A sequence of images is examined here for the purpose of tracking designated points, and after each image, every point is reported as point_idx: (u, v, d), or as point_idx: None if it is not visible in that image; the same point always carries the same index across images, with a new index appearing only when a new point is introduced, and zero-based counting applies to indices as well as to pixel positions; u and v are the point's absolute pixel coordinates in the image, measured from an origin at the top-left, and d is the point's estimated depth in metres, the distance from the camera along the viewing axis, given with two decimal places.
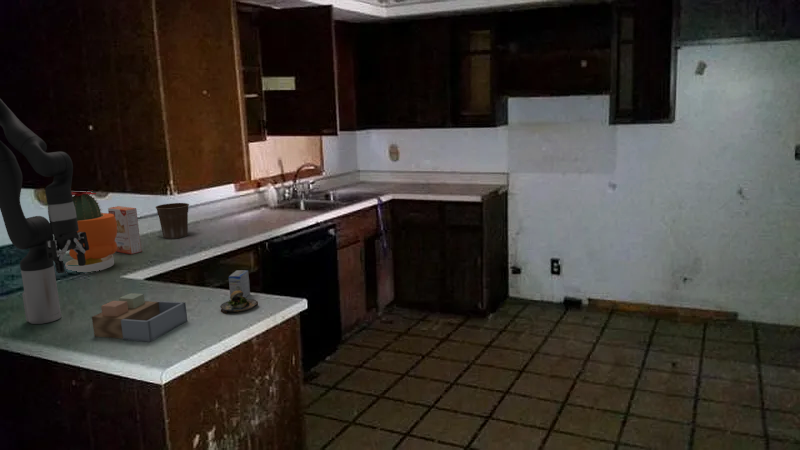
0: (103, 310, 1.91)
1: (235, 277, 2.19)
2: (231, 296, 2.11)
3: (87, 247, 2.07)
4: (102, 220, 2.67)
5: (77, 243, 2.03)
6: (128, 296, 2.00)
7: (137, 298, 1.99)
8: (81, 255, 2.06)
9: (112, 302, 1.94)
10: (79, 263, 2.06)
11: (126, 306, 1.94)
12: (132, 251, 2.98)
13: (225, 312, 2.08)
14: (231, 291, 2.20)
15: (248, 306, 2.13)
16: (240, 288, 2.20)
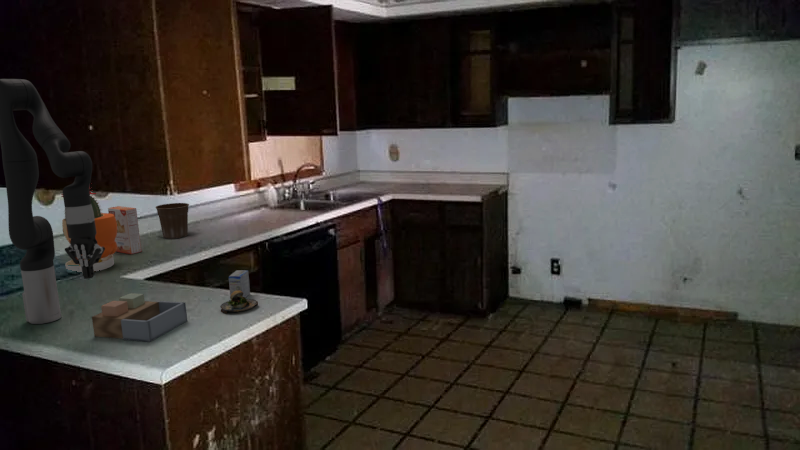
0: (103, 310, 1.91)
1: (235, 277, 2.19)
2: (231, 296, 2.11)
3: None
4: (102, 220, 2.67)
5: None
6: (128, 296, 2.00)
7: (137, 298, 1.99)
8: None
9: (112, 302, 1.94)
10: None
11: (126, 306, 1.94)
12: (132, 251, 2.98)
13: (225, 312, 2.08)
14: (231, 291, 2.20)
15: (248, 306, 2.13)
16: (240, 288, 2.20)
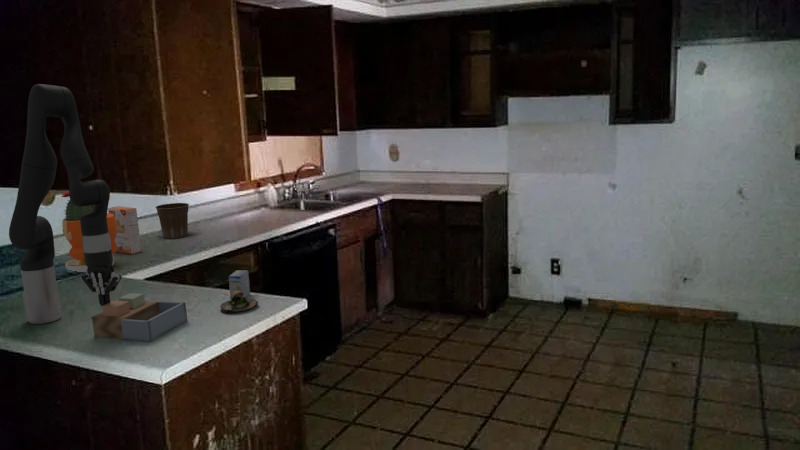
0: (105, 310, 1.91)
1: (235, 277, 2.19)
2: (231, 296, 2.11)
3: None
4: None
5: None
6: (128, 296, 2.00)
7: (137, 298, 1.99)
8: None
9: (113, 302, 1.94)
10: None
11: (127, 306, 1.94)
12: (132, 251, 2.98)
13: (226, 312, 2.08)
14: (231, 291, 2.20)
15: (248, 306, 2.13)
16: (240, 288, 2.20)
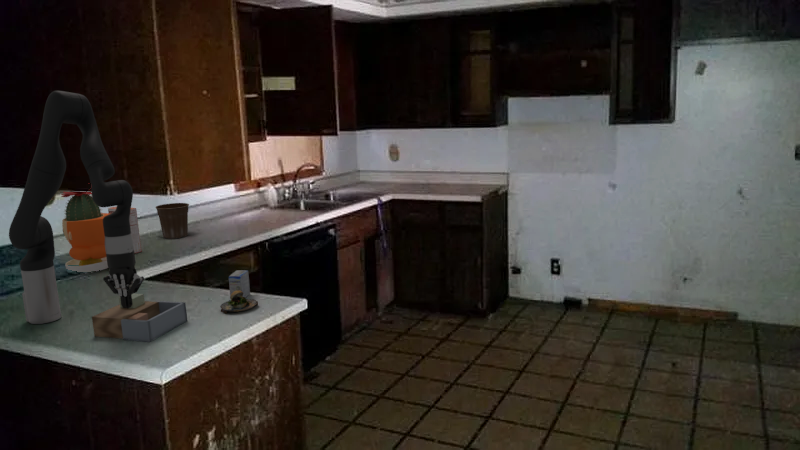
0: None
1: (235, 277, 2.19)
2: (231, 296, 2.11)
3: None
4: (102, 220, 2.67)
5: None
6: None
7: (137, 298, 1.99)
8: None
9: (143, 319, 1.92)
10: None
11: None
12: None
13: (226, 312, 2.08)
14: (231, 291, 2.20)
15: (248, 306, 2.13)
16: (240, 288, 2.20)
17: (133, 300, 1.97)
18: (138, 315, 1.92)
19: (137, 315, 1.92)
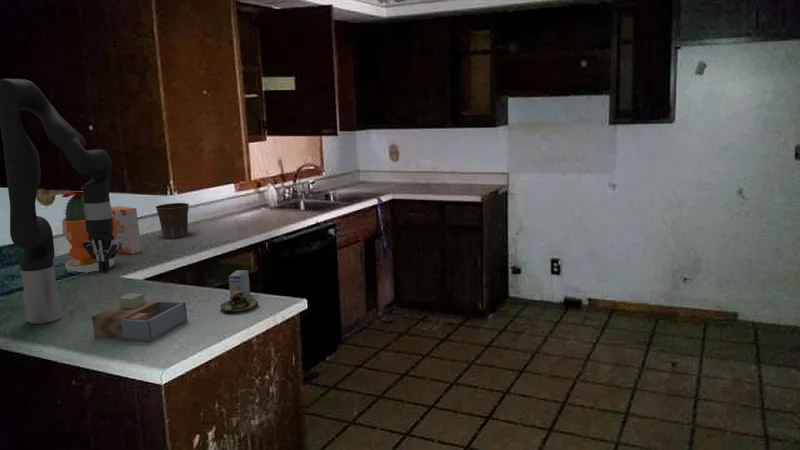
0: None
1: (235, 277, 2.19)
2: (231, 296, 2.11)
3: None
4: None
5: None
6: (128, 296, 2.00)
7: (137, 298, 1.99)
8: None
9: (143, 319, 1.92)
10: None
11: None
12: (132, 251, 2.98)
13: (226, 312, 2.08)
14: (231, 291, 2.20)
15: (248, 306, 2.13)
16: (240, 288, 2.20)
17: (133, 300, 1.97)
18: (138, 315, 1.92)
19: (137, 315, 1.92)
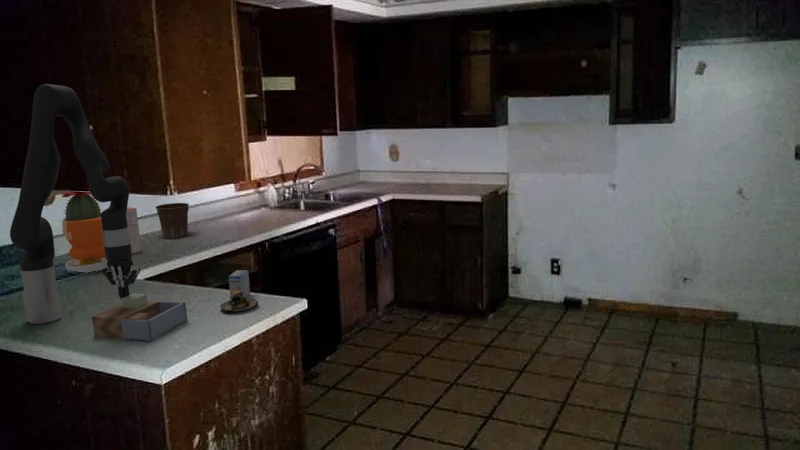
0: None
1: (235, 277, 2.19)
2: (231, 296, 2.11)
3: None
4: None
5: None
6: (131, 296, 1.99)
7: (140, 298, 1.99)
8: None
9: (143, 319, 1.92)
10: None
11: None
12: (132, 251, 2.98)
13: (226, 312, 2.08)
14: (231, 291, 2.20)
15: (248, 306, 2.13)
16: (240, 288, 2.20)
17: (136, 300, 1.97)
18: (138, 315, 1.92)
19: (137, 315, 1.92)
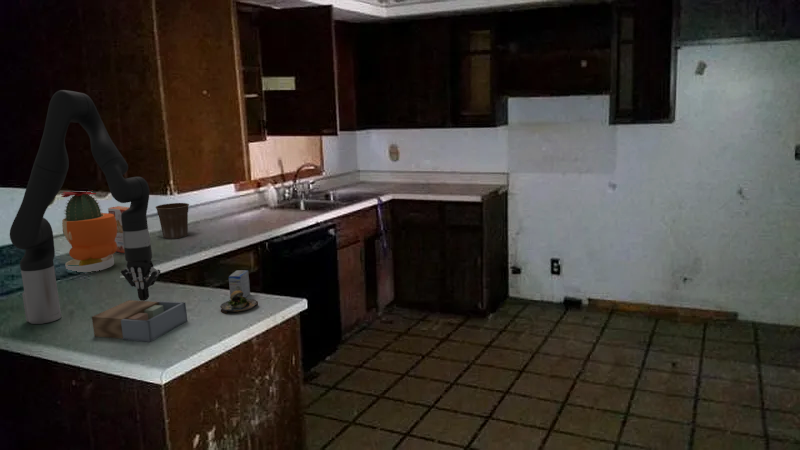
0: None
1: (235, 277, 2.19)
2: (231, 296, 2.11)
3: None
4: (102, 220, 2.67)
5: None
6: (157, 314, 1.98)
7: None
8: None
9: (143, 319, 1.92)
10: None
11: None
12: None
13: (226, 312, 2.08)
14: (231, 291, 2.20)
15: (248, 306, 2.13)
16: (240, 288, 2.20)
17: None
18: (138, 315, 1.92)
19: (137, 315, 1.92)
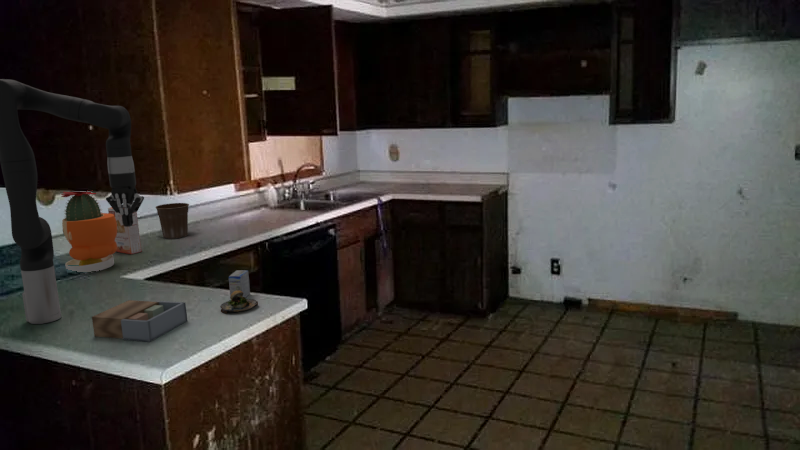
0: None
1: (235, 277, 2.19)
2: (231, 296, 2.11)
3: None
4: (102, 220, 2.67)
5: None
6: (157, 314, 1.98)
7: None
8: None
9: (143, 319, 1.92)
10: None
11: None
12: (132, 251, 2.98)
13: (226, 312, 2.08)
14: (231, 291, 2.20)
15: (248, 306, 2.13)
16: (240, 288, 2.20)
17: None
18: (138, 315, 1.92)
19: (137, 315, 1.92)
